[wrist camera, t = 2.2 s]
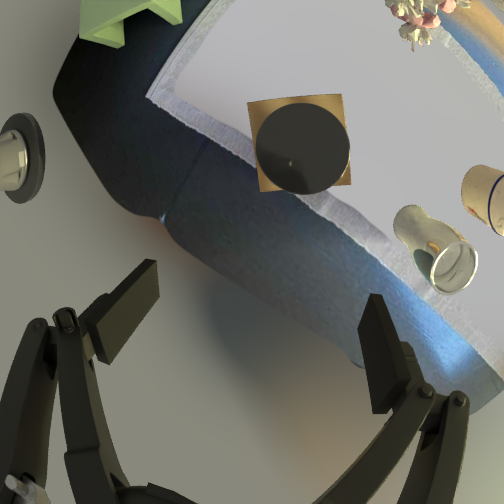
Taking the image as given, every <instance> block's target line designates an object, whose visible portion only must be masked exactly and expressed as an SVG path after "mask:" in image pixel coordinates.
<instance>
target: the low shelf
mask: <svg viewBox="0 0 504 504" xmlns="http://www.w3.org/2000/svg"><path fill="white" fill-rule="evenodd" d="M292 103H311V104H315V105H318V106H321V107H323V108H325V109H327V110H328V111H330V112H331V113H332V114H334V115H335V116H336V117H337V118H338V119H339V121H340V122H341V123H342V125H343V126H344V128H345V130H346V122H345V114H344V107H343V100H342V94H326V95H309V96H297V97H287V98H278V99H270V100H262V101H256V102H249V103H247V105H248V111H249V118H250V125H251V131H252V138H253V145H254V151H255V158H256V165H257V172H258V179H259V186H260V192H264V191H274V190H282V189H280V188H279V187H277V186H276V185H274V184H273V183H272V182H271V181H270V180H269V179H268V178H267V177H266V176H265V174H264V173H263V172H262V170H261V168H260V166H259V163H258V161H257V157H256V149H255V146H256V138H257V134H258V131H259V129H260V127H261V125H262V123H263V122H264V120H265V119H266V118H267V117H268V116H269V115H270V114H271V113H272V112H273V111H275V110H277V109H278V108H280V107H282V106H285V105H288V104H292ZM346 132H347V130H346ZM337 185H351V174H350V161H349V162H348V165H347V168H346V170H345V172H344V174H343V175H342V176H341V178H340V179H339V180H338V181H337V182H336V183H335V184H334V185H332V186H337Z"/></svg>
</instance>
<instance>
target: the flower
mask: <svg viewBox="0 0 504 504" xmlns="http://www.w3.org/2000/svg"><path fill="white" fill-rule="evenodd" d="M492 1H493V2H494V3H495V5H496V6H497V7H498V8H499V9H500V10H501V11H504V0H492ZM465 2H471V0H445V1H444V2H443V3H442V4H440V5H439V6H438V3H437V2H435V1H434V0H385V4H386V6H387V7H388V8H390V9H391V12H392V14H393V15H394V16H395V17H398V18H399V19H402V20H403V21H406V22H407V23H406V24H403V25H402V26H401V28H400V29H399V33H400V36H401V37H402V38H405V39H404V41H406V38H408V39H407V40H409V41H412V51H413V52H414V42H416V41H417V40H419V41H420V42H419V41H418V43H420V44H421V45H423V44H422V42H423V41H424V40H425V41H426V43H428V45H429V42H432V38H431V36H430V33H429V32H428V30H427V29H426V28H435V27H438V26H439V24H440V22H441V21H440V19H439V17H438V15H436V14H437V7H439V8H440V9H441V10H442V11H444V12H446V13H450V12H453V10H454V8H455V7H456V3H457V4H458V5H459V6H460V7H462V8H470V5H468V4H467V3H465ZM471 3H472V2H471ZM423 6H424V7H426V8H428V9H429V10H430V11H431V12H432V13H433V14H434V15H433V16H432V14H431V12H425V13H424V14H422V11H423V10H422V9H423ZM425 27H426V28H425Z"/></svg>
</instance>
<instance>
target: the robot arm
mask: <svg viewBox="0 0 504 504" xmlns="http://www.w3.org/2000/svg"><path fill="white" fill-rule="evenodd" d="M29 169H30V151H29V146H28V142H27V139H26V137H25V135H24V134H23V132H22V131H20V130H18V129H13V130H9V131H7V132H5V133H4V134H2V135H1V136H0V191H15V190H17V189H20V188H22V187H23V186H24V184H25V183H26V181H27V178H28V175H29ZM157 274H158V273H157V261H156V260H151V259H145V260H144V261H143V262H142V263H141V264H140V265H139V266H138V267H137V268H135V269H134V270H133V271H132V272H131V273H130V274H129V275H128V276H127V277H126V278H125V279H124V280H123V281H122V282H121V283H120V284H119V285H118V286H117V287H116V288H115V289H114V290H113V291H112V292H111V293H110V294H108V293H105V294H103V295H101V296H99V297H98V298H97V299H96V300H95V301H94V302H93V303H92V304H91V305H90V306H89V307H88V308H87V309H86V310H85V311H84V312H83V313H82V314H81V315H80V316H79V317H78V318H77V316H76V313H75V310H74V309H73V308H69V307H65V308H61V309H59V310H57V311H56V312H55V313H54V314H53V317H52V318H53V321H54V323H55V326H56V327H53V326H48V323H47V321H46V319H44V318H35V319H33V320H32V321H31V322H29V324H28V325H27V328H26V330H25V332H24V335H23V337H22V340H21V342H20V344H19V347H18V349H17V352H16V355H15V357H14V360H13V363H12V366H11V369H10V372H9V375H8V378H7V381H6V384H5V387H4V391H3V394H2V398H1V401H0V504H51V502H50V500H49V498H48V496H47V494H46V492H45V490H44V489H45V485H46V479H47V464H48V447H49V436H50V427H51V419H52V412H53V405H54V399H55V393H56V388H57V382H58V383H59V395H60V405H61V412H62V420H63V427H64V433H65V439H66V444H67V452H66V453H65V454H64V460H65V465H66V469H67V473H68V477H69V481H70V485H71V488H72V492H73V495H74V498H75V501H76V504H197V503H195V502H193V501H191V500H189V499H187V498H186V497H184V496H182V495H180V494H178V493H176V492H174V491H172V490H169V489H166V488H163V487H160V486H157V485H154V484H152V483H148V485H147V486H130V484H129V482H128V480H127V478H126V477H125V475H124V473H123V471H122V469H121V466H120V464H119V461H118V458H117V455H116V452H115V449H114V446H113V443H112V440H111V437H110V433H109V429H108V426H107V423H106V419H105V415H104V411H103V407H102V403H101V398H100V394H99V390H98V385H97V380H96V374H95V369H94V364H93V360H92V357H93V355H94V354H96V356H97V359H98V361H100V362H103V363H106V364H108V365H110V364H111V363H112V361H113V360H114V358H115V357H116V356H117V354H118V353H119V351H120V350H121V348H122V347H123V346H124V344H125V343H126V342H127V340H128V339H129V337H130V336H131V335H132V333H133V332H134V331H135V329H136V328H137V327H138V325H139V324H140V322H141V321H142V320H143V318H144V317H145V316H146V314H147V313H148V312H149V310H150V309H151V308H152V306H153V305H154V304H155V302H156V301H157V300H158V299H159V297H160V295H159V285H158V275H157ZM357 330H358V334H359V339H360V344H361V349H362V354H363V359H364V364H365V369H366V375H367V380H368V386H369V392H370V399H371V405H372V412H373V414H387V413H388V411H389V410H390V409H391V408H392V410H393V414H392V416H391V417H390V418H389V419H388V421H387V422H386V423H385V424H384V426H383V428H382V429H381V430H380V432H379V433H378V434H377V435H376V437H375V438H374V439H373V440H372V442H371V443H370V444H369V445H368V447H367V448H366V449H365V450H364V451H363V453H362V454H361V455H360V456H359V457H358V458H357V459H356V461H355V462H354V463H353V464H352V465H351V466H350V467H349V468H348V469H347V470H346V471H345V472H344V473H343V474H342V475H341V477H340V478H339V479H338V480H337V481H336V482H335V483H334V484H333V485H332V486H331V487H330V488H328V489H327V491H325V492H324V493H323V494H322V495H321V496H320V497H319V498H318V499H317V500H316V501H314V502H313V503H312V504H367V502H368V501H369V500H370V499H371V498H372V496H373V495H374V494H375V493H376V492H377V490H378V489H379V488H380V487H381V485H382V484H383V483H384V481H385V480H386V479H387V477H388V476H389V475H390V473H391V472H392V470H393V469H394V468H395V466H396V465H397V464H398V462H399V461H400V459H401V458H402V456H403V455H404V453H405V452H406V450H407V448H408V447H409V445H410V444H411V442H412V441H413V439H414V437H415V436H416V434H417V432H418V431H422V432H421V436H420V440H419V443H418V447H417V450H416V453H415V456H414V460H413V463H412V466H411V468H410V471H409V475H408V477H407V480H406V483H405V485H404V488H403V490H402V492H401V495H400V497H399V500H398V502H397V504H453V502H454V498H455V494H456V491H457V487H458V482H459V478H460V474H461V469H462V464H463V458H464V452H465V446H466V439H467V431H468V420H469V408H470V402H469V399H468V397H467V395H466V394H465V393H463V392H461V391H457V390H456V391H453V392H452V393H451V394H450V395H449V396H444V395H440V394H437V393H436V391H435V389H434V388H433V386H431V385H430V384H428V383H426V382H425V380H424V378H423V375H422V372H421V369H420V366H419V363H418V361H417V358H416V357H415V356H416V355H415V353H414V350H413V348H412V347H411V346H410V344H409V343H408V342H400V340H399V338H398V335H397V332H396V330H395V327H394V324H393V322H392V319H391V317H390V314H389V311H388V309H387V306H386V304H385V302H384V299H383V297H382V295H380V294H372V293H370V296H369V299H368V301H367V304H366V307H365V310H364V313H363V315H362V318H361V321H360V323H359V326H358V328H357Z"/></svg>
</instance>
